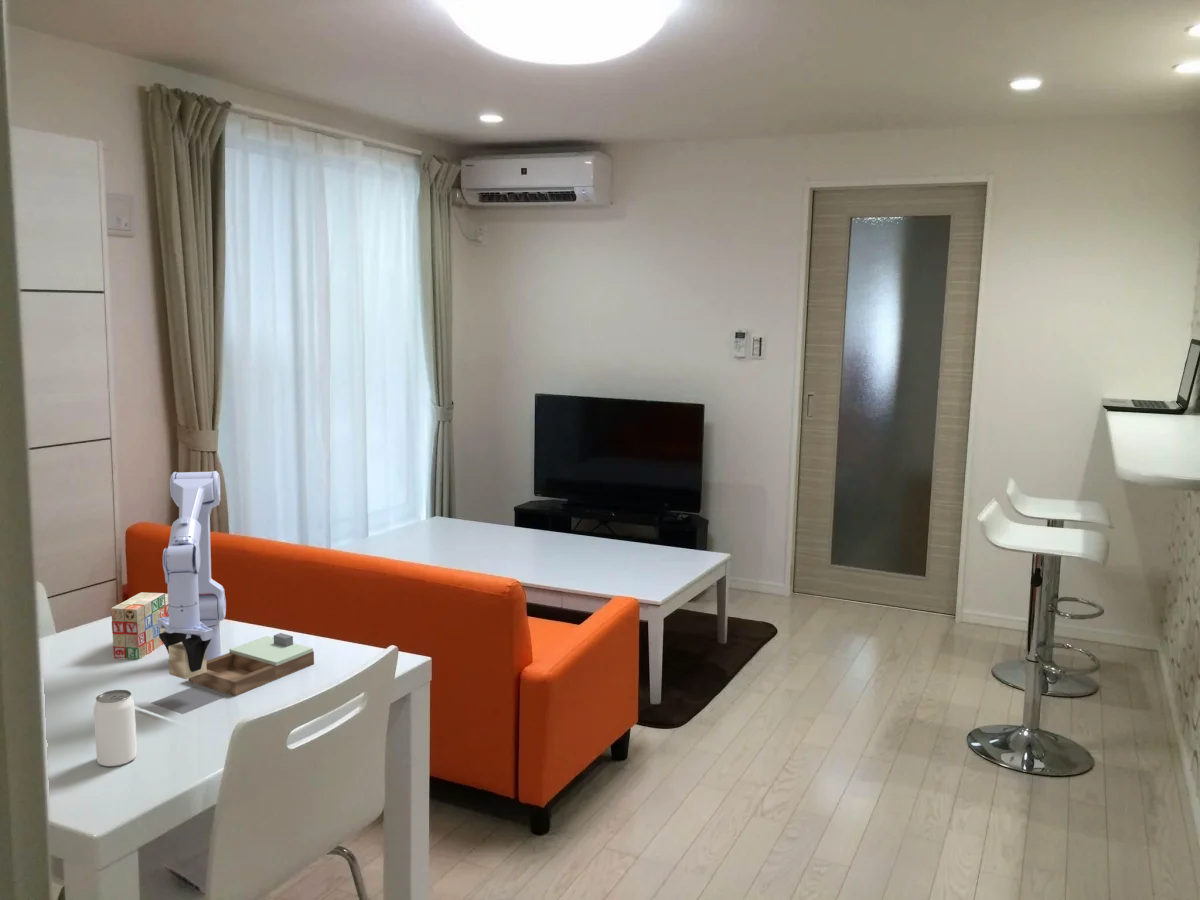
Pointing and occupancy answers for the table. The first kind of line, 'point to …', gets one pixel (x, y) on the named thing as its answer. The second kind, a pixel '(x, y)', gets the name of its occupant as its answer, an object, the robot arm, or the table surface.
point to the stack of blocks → (138, 625)
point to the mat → (187, 700)
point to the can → (115, 728)
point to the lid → (272, 649)
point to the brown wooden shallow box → (246, 672)
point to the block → (182, 662)
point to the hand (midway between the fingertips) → (186, 667)
